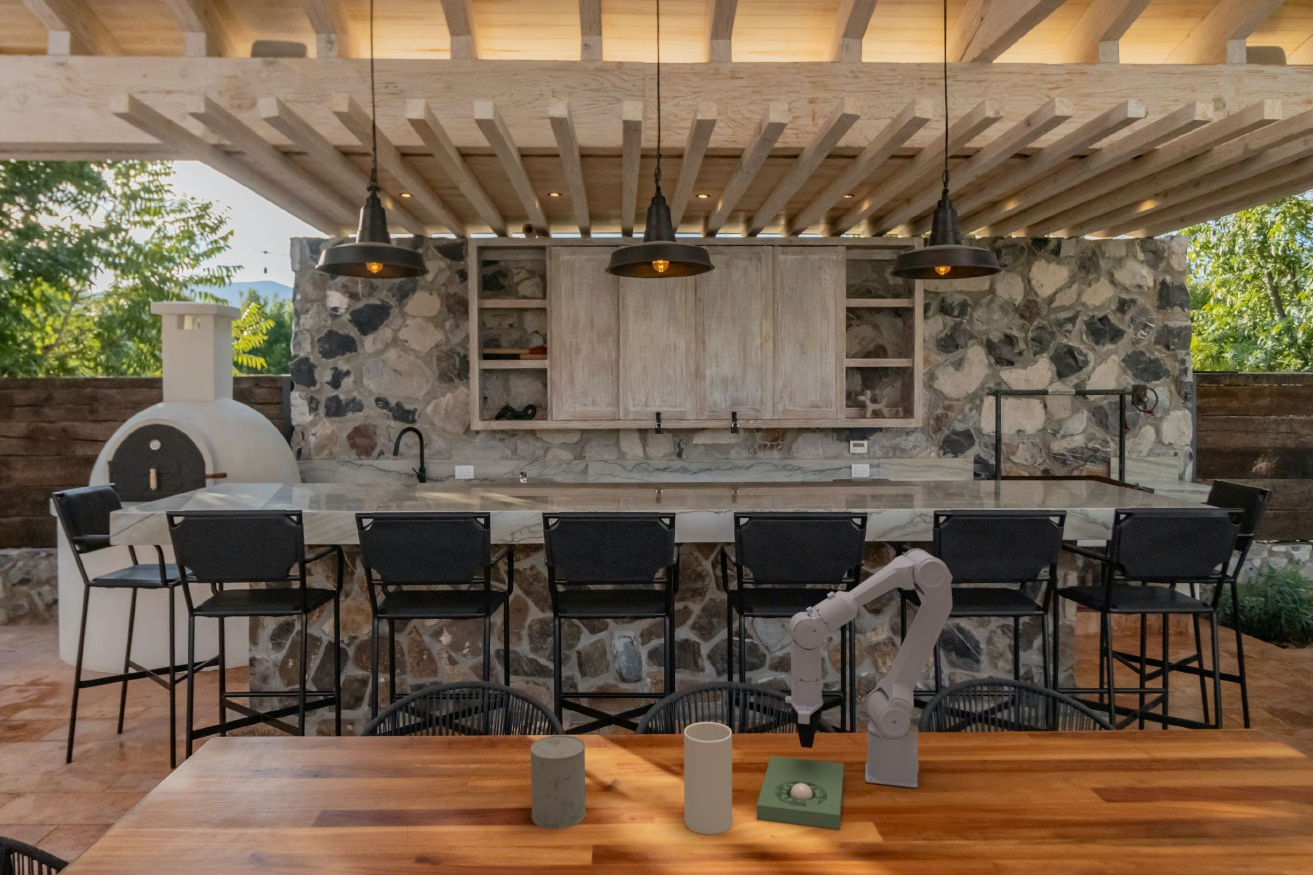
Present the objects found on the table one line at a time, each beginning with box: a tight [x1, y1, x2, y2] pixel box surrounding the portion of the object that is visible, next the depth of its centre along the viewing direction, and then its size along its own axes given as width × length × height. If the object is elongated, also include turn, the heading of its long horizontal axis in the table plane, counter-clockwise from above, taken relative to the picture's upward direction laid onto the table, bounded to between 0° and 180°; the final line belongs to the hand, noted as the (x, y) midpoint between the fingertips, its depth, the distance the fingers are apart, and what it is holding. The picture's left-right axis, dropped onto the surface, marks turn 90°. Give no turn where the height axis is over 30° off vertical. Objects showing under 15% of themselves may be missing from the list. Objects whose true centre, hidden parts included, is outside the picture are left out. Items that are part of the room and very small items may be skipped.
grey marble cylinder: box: [530, 734, 587, 830], centre depth 144 cm, size 10×10×12 cm
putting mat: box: [756, 755, 845, 830], centre depth 150 cm, size 20×14×2 cm
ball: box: [790, 783, 813, 801], centre depth 147 cm, size 4×4×4 cm
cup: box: [683, 721, 733, 835], centre depth 141 cm, size 8×8×16 cm
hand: (806, 746), depth 158 cm, fingers closed
